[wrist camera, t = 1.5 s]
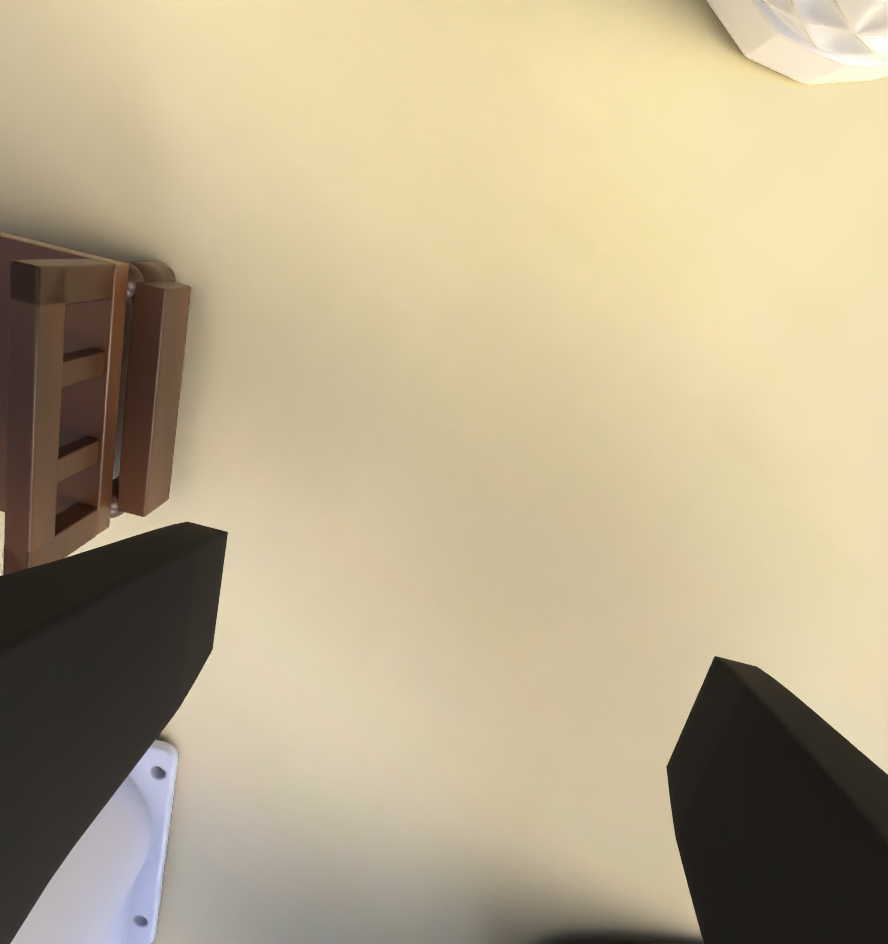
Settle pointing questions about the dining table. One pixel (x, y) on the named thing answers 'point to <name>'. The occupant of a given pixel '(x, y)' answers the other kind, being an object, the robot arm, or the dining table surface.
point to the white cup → (811, 37)
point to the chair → (82, 394)
